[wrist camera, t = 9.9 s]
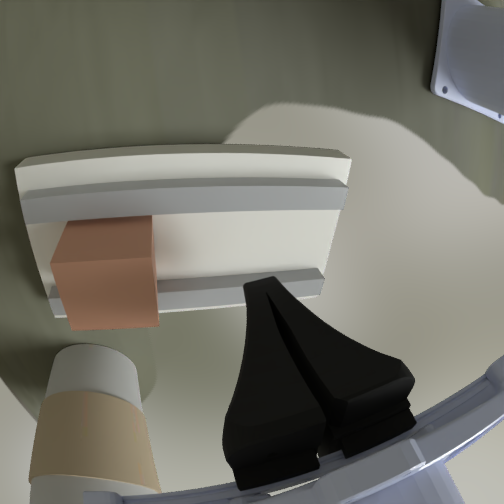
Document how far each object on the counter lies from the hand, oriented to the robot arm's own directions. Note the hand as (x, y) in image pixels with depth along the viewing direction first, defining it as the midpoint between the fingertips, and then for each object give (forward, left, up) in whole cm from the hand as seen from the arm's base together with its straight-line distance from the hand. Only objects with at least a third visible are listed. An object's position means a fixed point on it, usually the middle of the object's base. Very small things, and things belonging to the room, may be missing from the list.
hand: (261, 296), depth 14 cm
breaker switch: (+6, 0, -4) cm, 7 cm away
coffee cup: (+10, +12, -5) cm, 16 cm away
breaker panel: (+3, 0, -5) cm, 6 cm away
